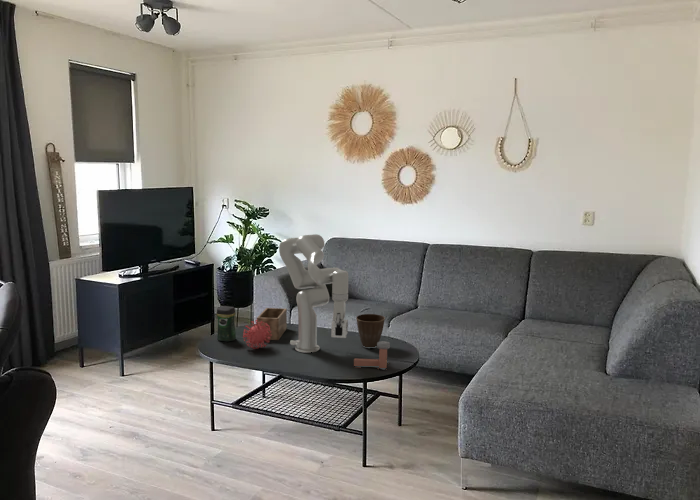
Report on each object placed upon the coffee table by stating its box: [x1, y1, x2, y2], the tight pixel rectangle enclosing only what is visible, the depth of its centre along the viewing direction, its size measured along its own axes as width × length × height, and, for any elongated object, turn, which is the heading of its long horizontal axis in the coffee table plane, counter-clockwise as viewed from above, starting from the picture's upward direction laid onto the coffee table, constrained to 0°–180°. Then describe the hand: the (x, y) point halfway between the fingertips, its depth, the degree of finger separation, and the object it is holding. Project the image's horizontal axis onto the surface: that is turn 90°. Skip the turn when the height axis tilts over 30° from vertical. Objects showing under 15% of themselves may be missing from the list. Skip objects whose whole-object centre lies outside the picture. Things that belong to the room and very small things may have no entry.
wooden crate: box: [256, 307, 288, 341], centre depth 319 cm, size 12×22×12 cm, turn 175°
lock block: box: [330, 319, 349, 339], centre depth 271 cm, size 7×7×7 cm
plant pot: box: [356, 313, 386, 347], centre depth 299 cm, size 15×15×16 cm
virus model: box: [242, 319, 272, 350], centre depth 294 cm, size 15×15×15 cm
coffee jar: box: [216, 305, 237, 342], centre depth 307 cm, size 10×8×19 cm
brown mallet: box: [353, 340, 391, 369], centre depth 269 cm, size 17×7×12 cm, turn 85°
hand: (339, 332), depth 271 cm, fingers closed on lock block, 6 cm apart
